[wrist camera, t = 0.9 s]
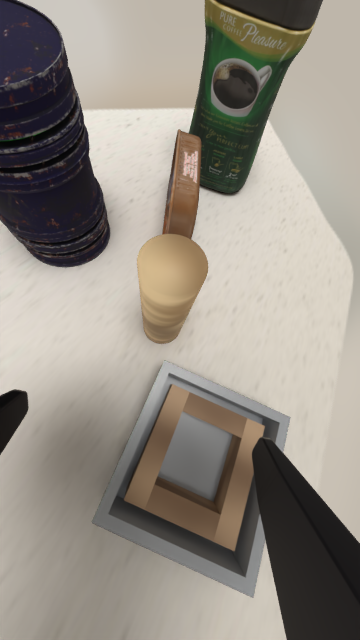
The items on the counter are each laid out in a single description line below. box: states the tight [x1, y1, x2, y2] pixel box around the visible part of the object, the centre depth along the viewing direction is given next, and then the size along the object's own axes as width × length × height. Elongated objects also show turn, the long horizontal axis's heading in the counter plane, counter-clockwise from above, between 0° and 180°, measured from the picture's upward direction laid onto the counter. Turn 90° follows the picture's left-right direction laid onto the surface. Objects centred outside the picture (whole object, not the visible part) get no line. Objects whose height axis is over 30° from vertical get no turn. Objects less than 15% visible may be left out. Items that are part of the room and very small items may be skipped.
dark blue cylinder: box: [0, 0, 110, 267], centre depth 18 cm, size 10×10×15 cm
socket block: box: [124, 384, 265, 551], centre depth 18 cm, size 9×9×2 cm
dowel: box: [137, 234, 208, 344], centre depth 17 cm, size 4×4×12 cm
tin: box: [162, 130, 201, 239], centre depth 24 cm, size 15×3×8 cm, turn 176°
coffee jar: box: [189, 0, 323, 193], centre depth 23 cm, size 10×8×19 cm
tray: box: [92, 360, 290, 598], centre depth 18 cm, size 12×12×4 cm
